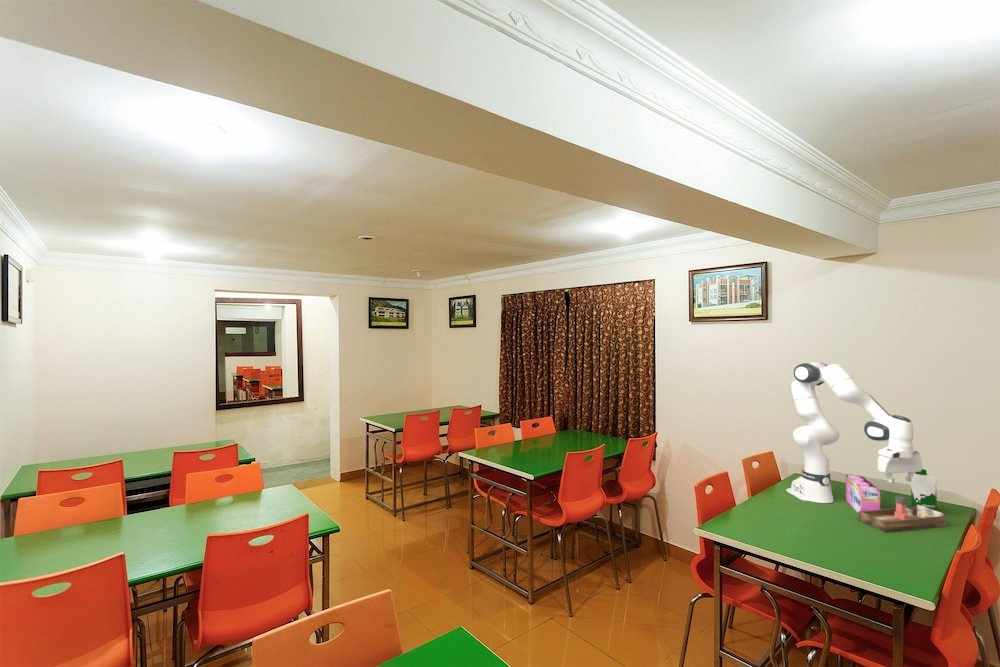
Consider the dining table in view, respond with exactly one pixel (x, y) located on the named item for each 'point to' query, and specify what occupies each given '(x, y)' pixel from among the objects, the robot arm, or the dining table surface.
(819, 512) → the dining table surface
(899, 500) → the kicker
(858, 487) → the gum box
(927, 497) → the milk carton
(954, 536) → the dining table surface
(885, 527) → the pitch
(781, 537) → the dining table surface
